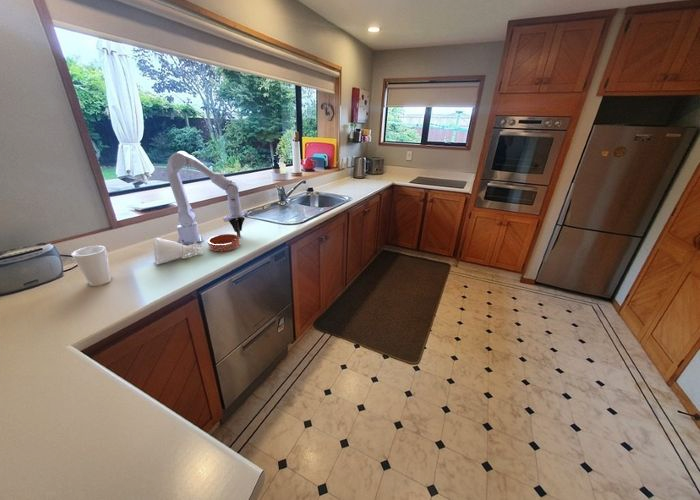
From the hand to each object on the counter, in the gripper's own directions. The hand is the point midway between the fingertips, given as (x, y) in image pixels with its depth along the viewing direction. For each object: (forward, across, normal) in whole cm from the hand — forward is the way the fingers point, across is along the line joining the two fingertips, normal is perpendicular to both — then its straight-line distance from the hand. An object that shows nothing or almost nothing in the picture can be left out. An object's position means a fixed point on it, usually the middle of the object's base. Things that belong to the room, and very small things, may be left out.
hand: (238, 231), depth 151 cm
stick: (+3, 0, 0) cm, 3 cm away
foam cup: (+4, -60, +8) cm, 61 cm away
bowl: (+3, -13, -4) cm, 14 cm away
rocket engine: (+4, -33, +1) cm, 33 cm away
